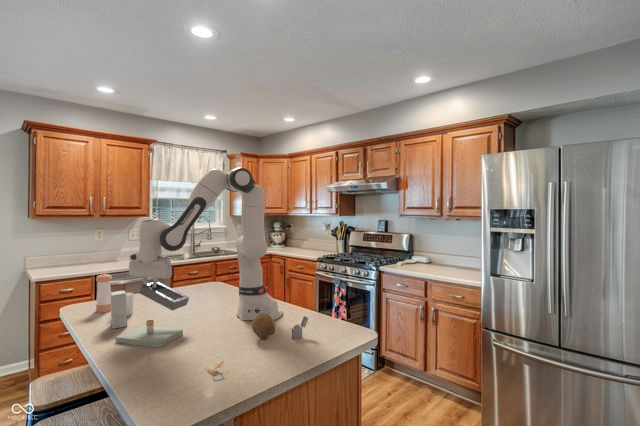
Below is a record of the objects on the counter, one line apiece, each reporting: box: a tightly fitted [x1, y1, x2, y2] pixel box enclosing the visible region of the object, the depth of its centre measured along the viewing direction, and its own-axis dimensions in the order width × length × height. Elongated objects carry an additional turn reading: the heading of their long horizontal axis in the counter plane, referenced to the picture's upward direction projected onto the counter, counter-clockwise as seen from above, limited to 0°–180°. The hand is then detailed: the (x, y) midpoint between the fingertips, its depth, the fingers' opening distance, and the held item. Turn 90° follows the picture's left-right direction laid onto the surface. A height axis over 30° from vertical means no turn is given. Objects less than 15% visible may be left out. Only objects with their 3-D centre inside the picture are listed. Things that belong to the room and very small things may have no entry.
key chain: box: [205, 360, 229, 382], centre depth 111 cm, size 13×7×1 cm, turn 29°
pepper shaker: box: [95, 272, 113, 313], centre depth 177 cm, size 7×7×19 cm
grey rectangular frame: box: [138, 281, 190, 311], centre depth 149 cm, size 18×9×4 cm, turn 74°
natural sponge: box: [251, 313, 276, 340], centre depth 138 cm, size 9×9×10 cm
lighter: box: [291, 315, 309, 341], centre depth 139 cm, size 7×2×8 cm, turn 124°
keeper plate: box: [115, 319, 184, 348], centre depth 139 cm, size 20×14×7 cm
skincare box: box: [110, 290, 128, 329], centre depth 154 cm, size 8×6×15 cm
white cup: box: [126, 292, 135, 317], centre depth 170 cm, size 8×8×10 cm
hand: (150, 287), depth 151 cm, fingers closed on grey rectangular frame, 2 cm apart
